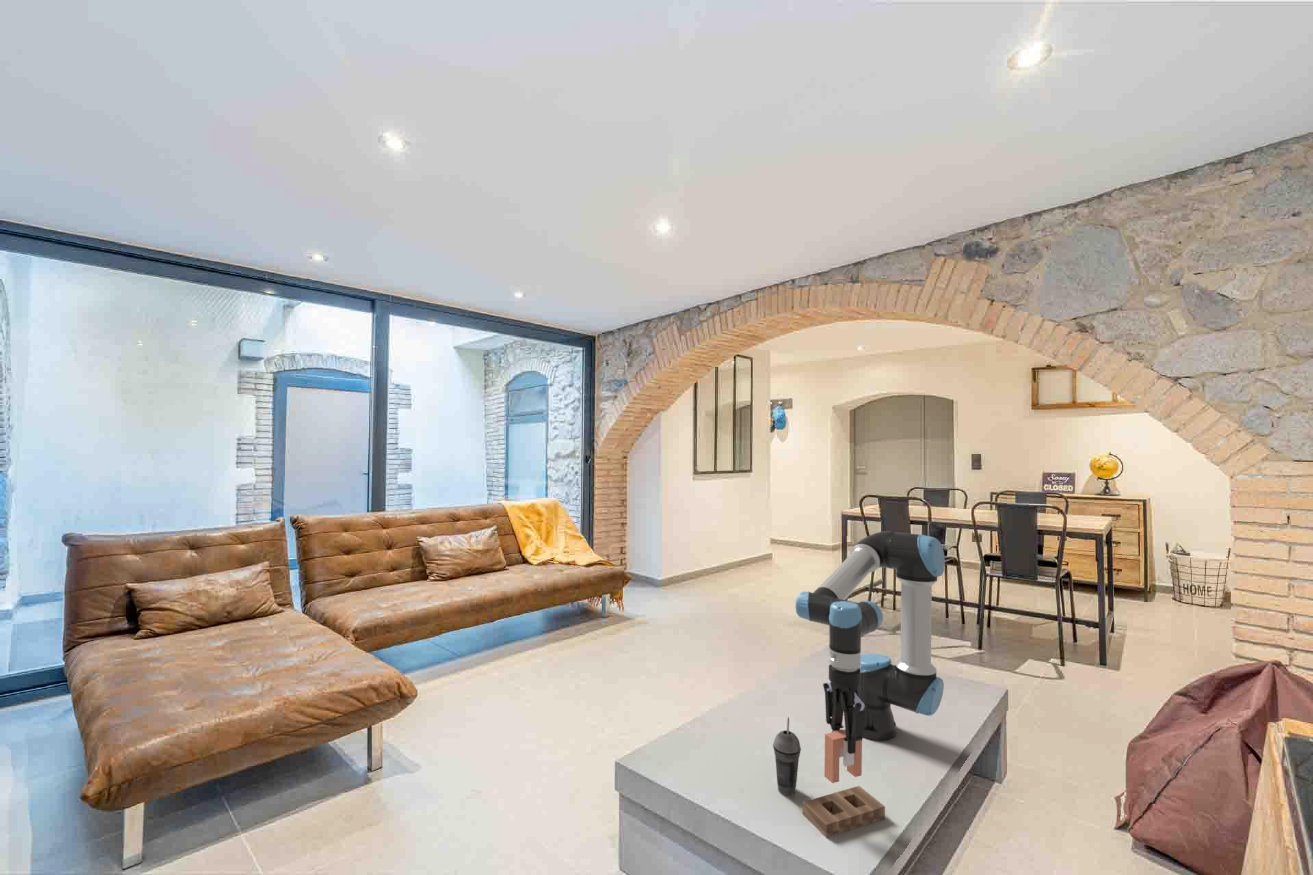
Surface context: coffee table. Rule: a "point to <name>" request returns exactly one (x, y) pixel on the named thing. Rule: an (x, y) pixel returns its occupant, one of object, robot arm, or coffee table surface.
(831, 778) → the block
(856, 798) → the slotted wooden board
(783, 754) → the beverage cup
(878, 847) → the coffee table surface
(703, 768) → the coffee table surface
